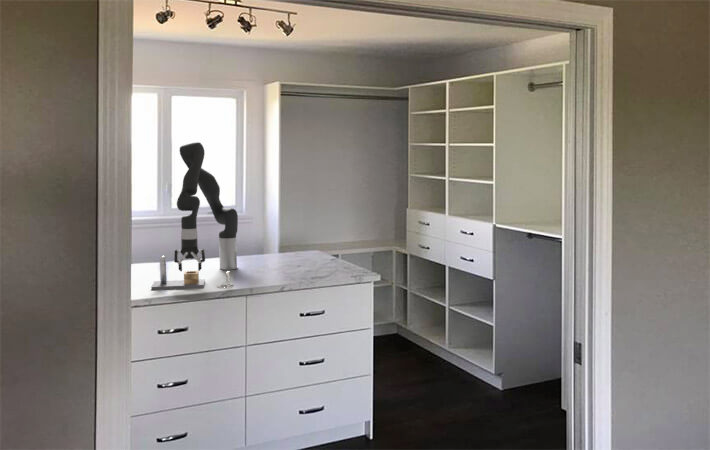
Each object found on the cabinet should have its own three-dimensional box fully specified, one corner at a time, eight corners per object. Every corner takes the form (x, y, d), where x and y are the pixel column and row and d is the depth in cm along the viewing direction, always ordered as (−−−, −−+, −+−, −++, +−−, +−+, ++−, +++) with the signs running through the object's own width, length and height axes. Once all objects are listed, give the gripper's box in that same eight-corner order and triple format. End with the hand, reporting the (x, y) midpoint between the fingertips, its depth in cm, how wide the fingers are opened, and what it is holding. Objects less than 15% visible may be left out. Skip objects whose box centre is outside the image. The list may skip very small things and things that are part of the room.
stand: (216, 286, 306) (232, 285, 309) (217, 288, 302) (234, 287, 304) (215, 270, 305) (232, 269, 308) (216, 272, 301) (233, 271, 303)
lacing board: (205, 282, 314) (204, 279, 314) (203, 287, 303) (203, 284, 302) (154, 284, 310) (154, 281, 310) (151, 290, 298) (151, 286, 298)
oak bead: (198, 280, 311) (198, 270, 310) (197, 283, 305) (197, 273, 304) (185, 281, 310) (184, 271, 309) (184, 284, 303) (183, 274, 303)
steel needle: (167, 282, 306) (165, 255, 305) (166, 284, 304) (165, 256, 302) (161, 283, 306) (159, 255, 304) (160, 284, 303) (159, 256, 301)
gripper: (205, 236, 309) (205, 268, 311) (174, 236, 307) (175, 269, 309) (204, 238, 302) (204, 272, 304) (173, 239, 299) (174, 272, 301)
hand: (190, 270), depth 306 cm, fingers open, 8 cm apart
